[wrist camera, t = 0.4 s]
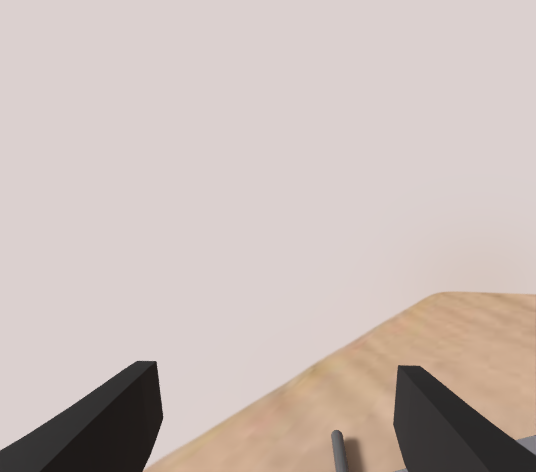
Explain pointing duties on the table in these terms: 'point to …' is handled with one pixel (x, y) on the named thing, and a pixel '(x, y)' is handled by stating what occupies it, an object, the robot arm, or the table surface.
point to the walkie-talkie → (339, 452)
